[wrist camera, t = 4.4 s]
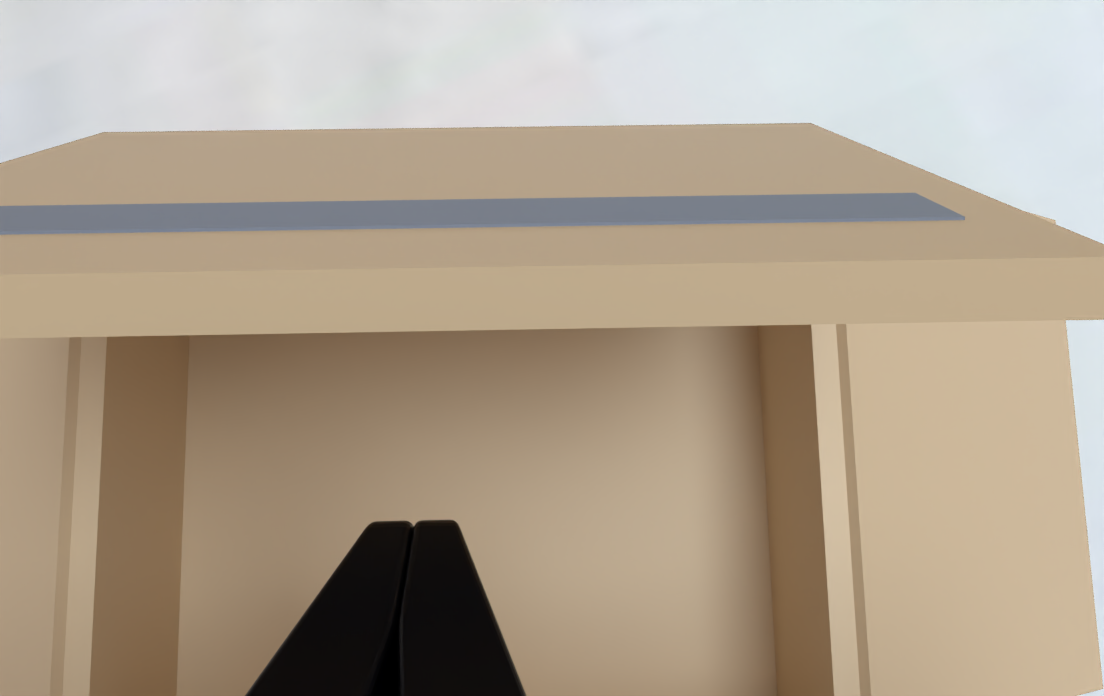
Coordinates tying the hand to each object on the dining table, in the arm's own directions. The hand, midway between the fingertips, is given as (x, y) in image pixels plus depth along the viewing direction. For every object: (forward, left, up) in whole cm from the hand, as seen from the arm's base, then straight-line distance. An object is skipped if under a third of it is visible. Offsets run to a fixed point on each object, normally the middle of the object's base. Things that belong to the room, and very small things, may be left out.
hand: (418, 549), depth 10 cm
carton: (-1, -1, -10) cm, 10 cm away
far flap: (+3, +6, -6) cm, 9 cm away
